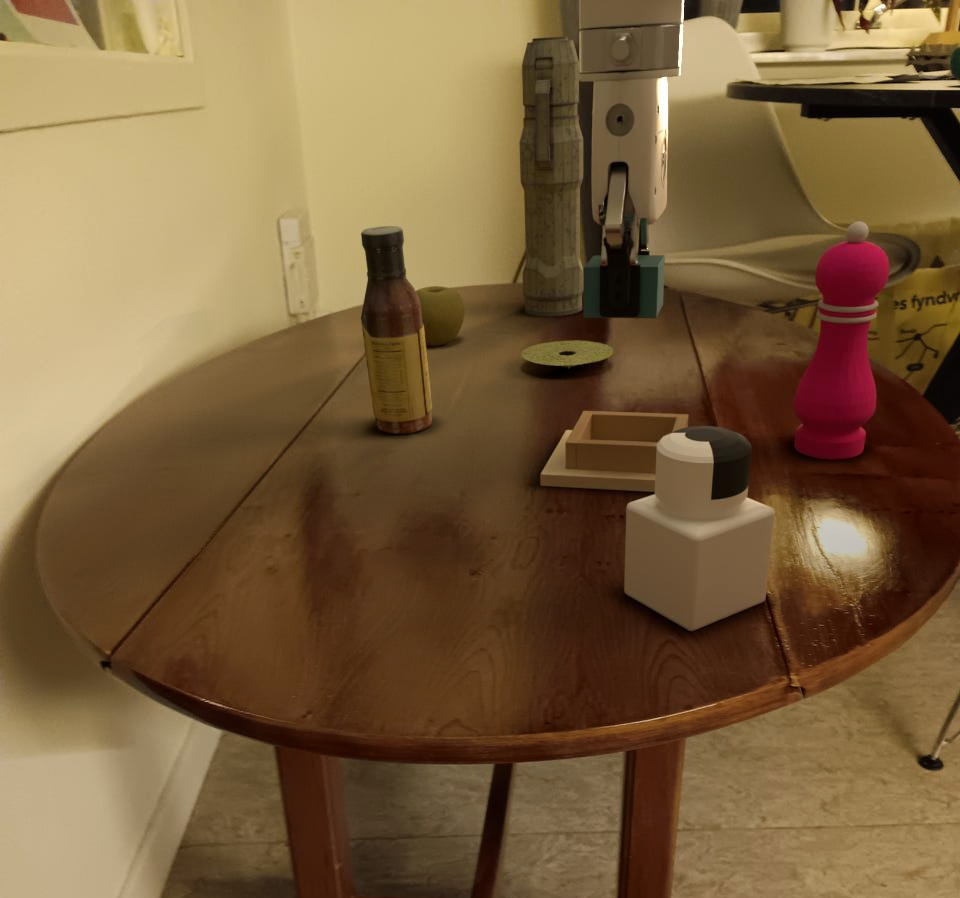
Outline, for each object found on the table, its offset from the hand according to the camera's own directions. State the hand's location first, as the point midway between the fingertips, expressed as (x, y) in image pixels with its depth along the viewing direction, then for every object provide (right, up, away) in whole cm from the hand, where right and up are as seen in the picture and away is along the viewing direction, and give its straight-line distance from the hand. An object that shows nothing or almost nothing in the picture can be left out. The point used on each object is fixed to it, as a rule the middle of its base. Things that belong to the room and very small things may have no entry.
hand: (624, 305), depth 83 cm
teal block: (0, 0, 0) cm, 0 cm away
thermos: (-1, +21, +66) cm, 69 cm away
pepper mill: (+21, -10, +11) cm, 26 cm away
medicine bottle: (+3, -25, -13) cm, 28 cm away
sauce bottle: (-20, -5, +23) cm, 31 cm away
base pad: (+2, -12, +10) cm, 15 cm away
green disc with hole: (-1, +5, +39) cm, 39 cm away
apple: (-18, +12, +52) cm, 57 cm away
